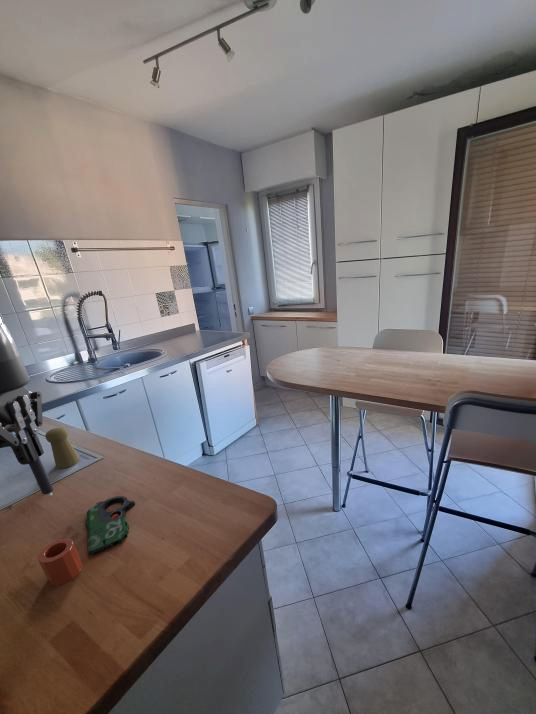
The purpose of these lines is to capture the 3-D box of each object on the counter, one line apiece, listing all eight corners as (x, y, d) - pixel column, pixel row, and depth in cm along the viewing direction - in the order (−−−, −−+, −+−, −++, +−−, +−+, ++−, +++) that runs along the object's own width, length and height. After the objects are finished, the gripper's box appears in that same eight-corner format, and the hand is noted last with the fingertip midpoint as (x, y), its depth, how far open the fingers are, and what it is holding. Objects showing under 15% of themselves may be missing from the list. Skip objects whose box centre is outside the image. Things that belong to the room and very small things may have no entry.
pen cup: (44, 589, 59) (31, 564, 56) (59, 564, 63) (47, 541, 61) (75, 583, 59) (63, 559, 57) (88, 559, 64) (77, 536, 62)
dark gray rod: (42, 499, 57) (12, 435, 52) (47, 493, 59) (19, 430, 54) (52, 497, 57) (23, 434, 53) (57, 491, 59) (29, 429, 54)
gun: (141, 531, 68) (85, 554, 63) (143, 536, 69) (88, 559, 64) (131, 490, 81) (84, 507, 76) (133, 495, 82) (86, 512, 77)
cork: (52, 465, 97) (38, 431, 93) (74, 455, 101) (61, 422, 97) (61, 471, 94) (46, 436, 89) (83, 460, 98) (71, 427, 94)
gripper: (-10, 349, 54) (31, 442, 61) (-84, 376, 42) (-22, 488, 48) (40, 344, 55) (75, 436, 62) (-18, 369, 43) (34, 480, 49)
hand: (32, 459), depth 55 cm, fingers closed on dark gray rod, 1 cm apart
